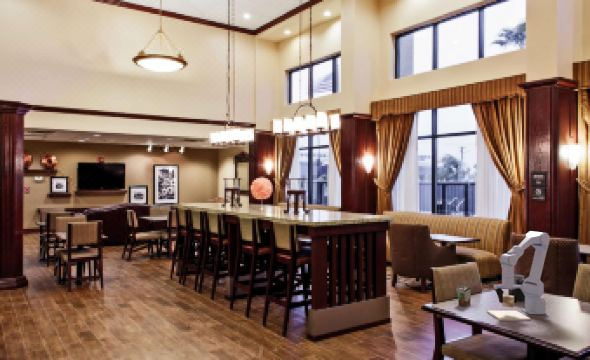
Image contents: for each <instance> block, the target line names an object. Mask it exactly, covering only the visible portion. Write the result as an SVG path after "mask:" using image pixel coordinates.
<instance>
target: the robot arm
mask: <svg viewBox="0 0 590 360" xmlns="http://www.w3.org/2000/svg"><path fill="white" fill-rule="evenodd" d="M550 241H551V238H550V235H549V233H547V232H540V231H533V230H530V231H528V232H527V233H525V237H524V239H523V240H522V241H521V242H520V243H519V244H518V245H513V246H512V247H511V248H510V249H509V250H508V251H507V252H506V253H503V254H501V255H500V257H499V258H498V260H499V263H500V267H501V283H500V284H493V289H494V291H495V293H496V295H497V298H498V301H499V303H500V304H502V303H503V295H504V293H505V292H504V290H508V289H512V290H513V296H514V303H515V304H517V303H518V297H519V295H520V294H521V292H523V293H524V295H525V301H524V309H523V308H521V311H523V312H525V313H526V314H528V315H547V312H546V311H547V309H546V308H547V306H546V305H547V304H546V302H547V301H546V299H545V297H544V296H543V295H544V293H545V290H544V287H545V284H544V283H543V282H542V280H541V277H542V274H543V269H544V265H545V264H544V263H545V259H546V256H547V251H548V249H549V245H550ZM531 246H532V247H533V248H534V249H535V251H534V255H533V258H532V263H531V267H530V270H529V276H528V277H526V278H524V282H523V284H522V285H514V274H515V266H516V265H517V262H518V260H519V258H521V257H522V256H523V255H524V254H525V253H524V252H525V250H526V249H528V248H529V247H531ZM520 289H521V290H520Z"/></svg>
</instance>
